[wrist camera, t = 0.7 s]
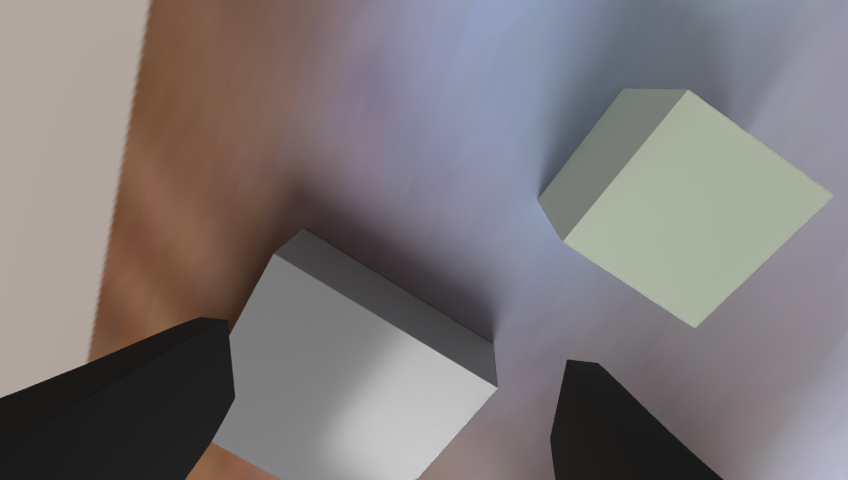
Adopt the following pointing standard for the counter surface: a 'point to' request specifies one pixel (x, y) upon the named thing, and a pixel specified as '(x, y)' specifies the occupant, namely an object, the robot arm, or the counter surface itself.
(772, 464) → the counter surface
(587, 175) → the green block
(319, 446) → the stone base
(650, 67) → the counter surface
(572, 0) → the counter surface
